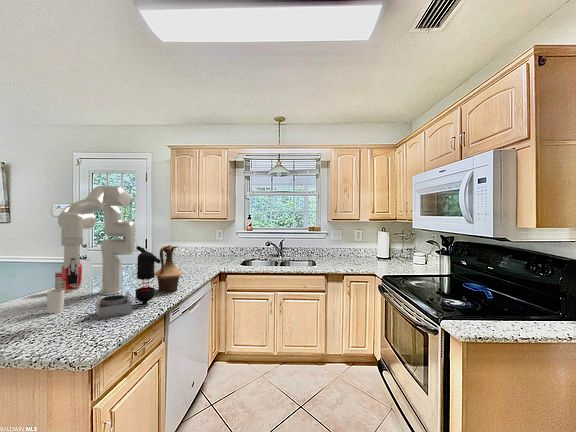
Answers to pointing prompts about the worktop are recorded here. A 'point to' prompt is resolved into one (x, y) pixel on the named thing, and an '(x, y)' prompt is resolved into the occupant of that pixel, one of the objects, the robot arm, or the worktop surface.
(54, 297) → the white cup
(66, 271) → the soda can
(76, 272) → the robot arm
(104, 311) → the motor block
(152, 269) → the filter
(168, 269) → the pitcher
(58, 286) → the canned food
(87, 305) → the worktop surface
